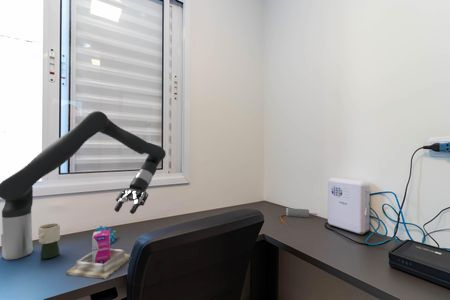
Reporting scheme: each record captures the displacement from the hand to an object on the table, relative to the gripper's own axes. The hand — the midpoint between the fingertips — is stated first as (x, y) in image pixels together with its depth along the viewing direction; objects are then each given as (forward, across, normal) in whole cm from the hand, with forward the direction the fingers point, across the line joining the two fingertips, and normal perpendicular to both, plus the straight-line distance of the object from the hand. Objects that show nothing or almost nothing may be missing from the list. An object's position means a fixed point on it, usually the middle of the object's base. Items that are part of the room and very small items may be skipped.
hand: (123, 212), depth 100 cm
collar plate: (+20, 0, +4) cm, 21 cm away
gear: (+9, -16, +16) cm, 24 cm away
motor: (-35, +68, +60) cm, 97 cm away
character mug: (+22, -26, +2) cm, 34 cm away
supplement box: (+20, 0, +4) cm, 20 cm away
